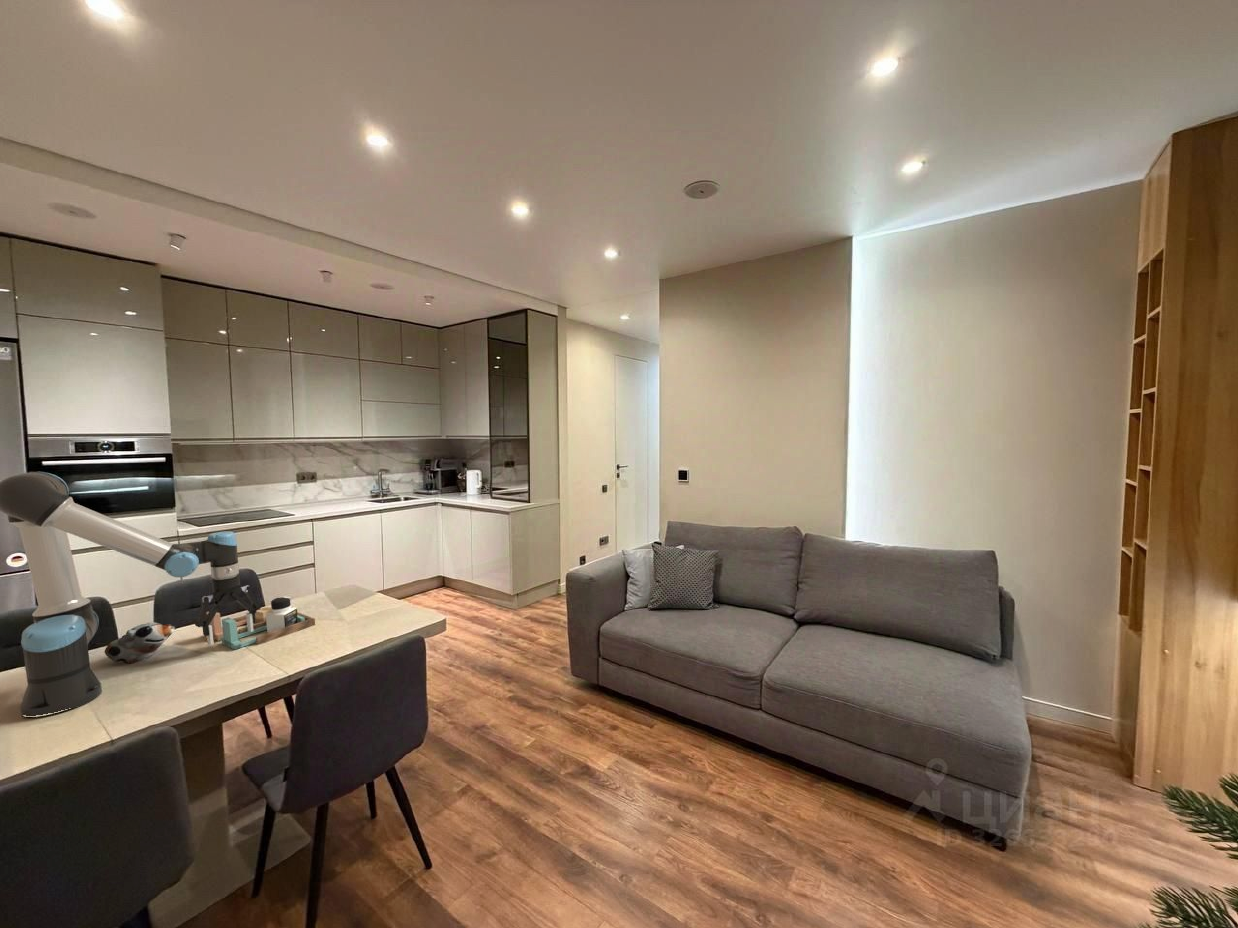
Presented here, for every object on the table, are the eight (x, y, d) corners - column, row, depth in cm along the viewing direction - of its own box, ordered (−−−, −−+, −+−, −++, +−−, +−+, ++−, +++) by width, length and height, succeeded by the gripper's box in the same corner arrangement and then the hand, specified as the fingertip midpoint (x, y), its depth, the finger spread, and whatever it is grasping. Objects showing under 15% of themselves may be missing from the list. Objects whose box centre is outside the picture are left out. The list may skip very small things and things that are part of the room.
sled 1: (218, 640, 176) (215, 616, 175) (206, 634, 181) (203, 611, 180) (288, 618, 195) (286, 596, 194) (275, 613, 200) (273, 592, 200)
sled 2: (234, 649, 168) (232, 624, 168) (221, 643, 174) (219, 618, 173) (305, 625, 188) (303, 602, 187) (291, 619, 193) (290, 597, 193)
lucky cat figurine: (152, 643, 175) (170, 609, 175) (167, 663, 170) (186, 627, 170) (96, 650, 161) (116, 612, 161) (110, 671, 156) (131, 632, 156)
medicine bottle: (285, 632, 182) (283, 601, 181) (266, 633, 183) (264, 601, 182) (298, 624, 190) (296, 594, 188) (280, 625, 190) (277, 595, 189)
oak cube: (264, 624, 190) (263, 612, 190) (255, 623, 192) (254, 610, 191) (277, 620, 195) (276, 607, 194) (268, 618, 196) (267, 606, 196)
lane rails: (258, 644, 173) (257, 637, 172) (222, 628, 187) (222, 622, 187) (315, 624, 189) (314, 618, 189) (278, 611, 204) (278, 605, 203)
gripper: (187, 588, 158) (193, 653, 160) (268, 568, 178) (273, 627, 180) (177, 584, 162) (184, 648, 164) (259, 566, 182) (264, 623, 184)
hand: (231, 637), depth 172 cm, fingers open, 11 cm apart
